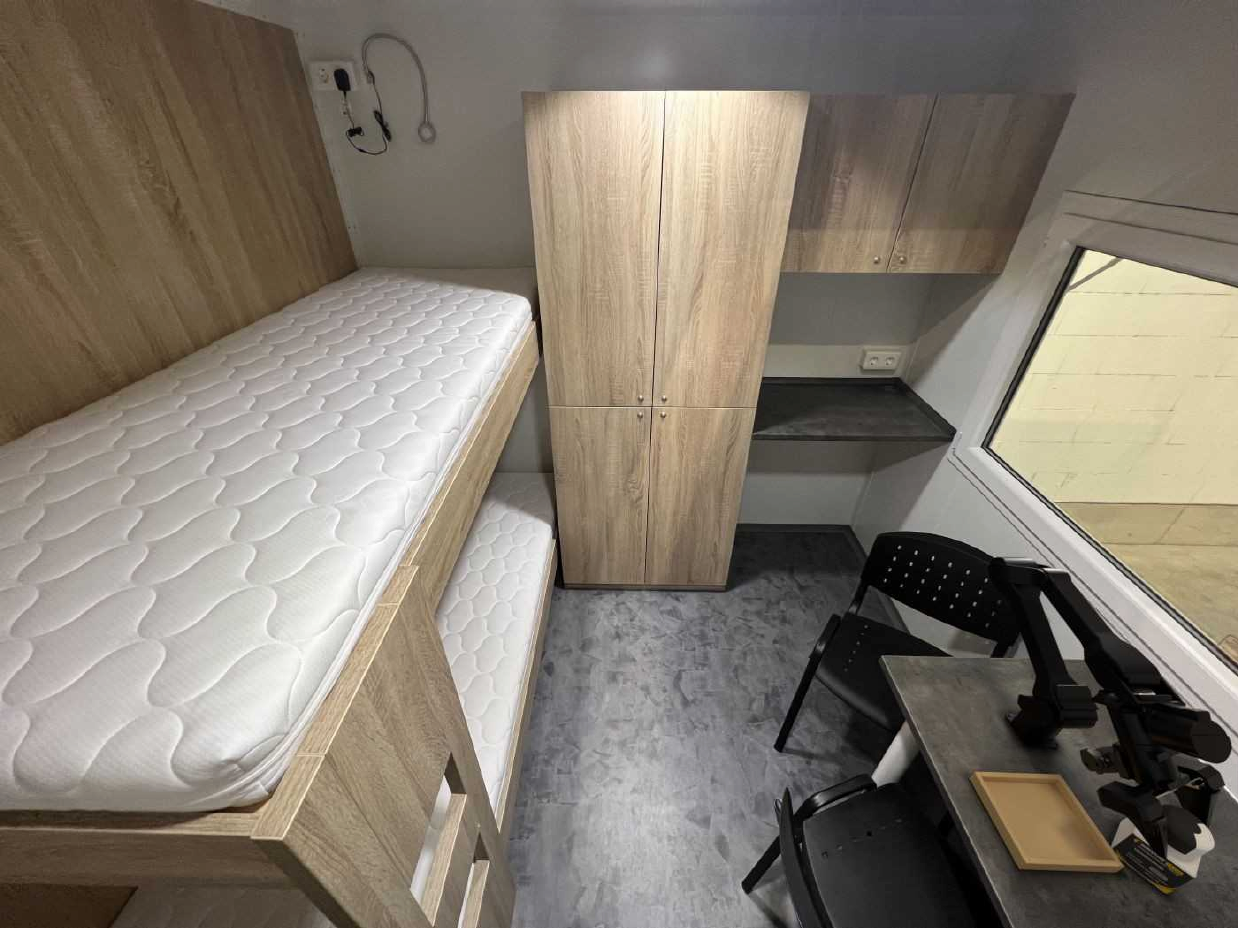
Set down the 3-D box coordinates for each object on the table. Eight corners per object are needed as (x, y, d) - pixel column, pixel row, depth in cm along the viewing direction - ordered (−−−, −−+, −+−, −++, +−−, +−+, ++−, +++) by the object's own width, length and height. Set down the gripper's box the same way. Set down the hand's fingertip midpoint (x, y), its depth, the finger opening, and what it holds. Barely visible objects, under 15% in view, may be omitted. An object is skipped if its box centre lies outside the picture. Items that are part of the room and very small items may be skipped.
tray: (1019, 869, 78) (1026, 862, 76) (969, 777, 89) (974, 771, 88) (1116, 872, 78) (1124, 866, 76) (1053, 780, 89) (1060, 774, 88)
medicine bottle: (1108, 850, 80) (1152, 818, 74) (1119, 821, 84) (1163, 788, 77) (1166, 895, 75) (1219, 864, 69) (1176, 862, 79) (1227, 830, 72)
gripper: (1121, 710, 87) (1155, 805, 84) (1046, 738, 83) (1080, 840, 79) (1205, 727, 77) (1248, 836, 74) (1124, 761, 72) (1167, 879, 69)
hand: (1181, 846), depth 74 cm, fingers open, 9 cm apart
